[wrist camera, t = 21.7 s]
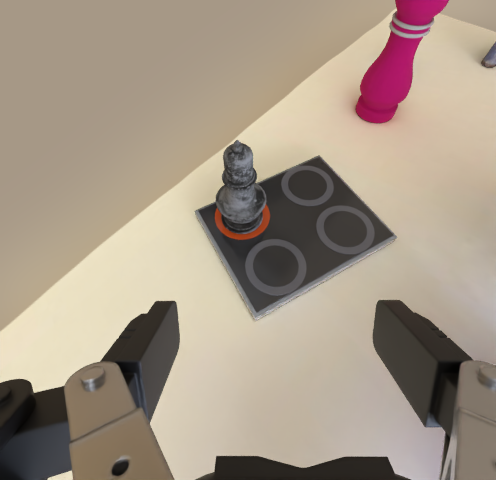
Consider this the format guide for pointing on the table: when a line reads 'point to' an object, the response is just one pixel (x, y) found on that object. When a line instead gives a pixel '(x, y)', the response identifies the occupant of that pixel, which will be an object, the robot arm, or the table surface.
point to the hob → (296, 236)
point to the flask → (490, 57)
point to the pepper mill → (396, 60)
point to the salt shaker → (240, 191)
